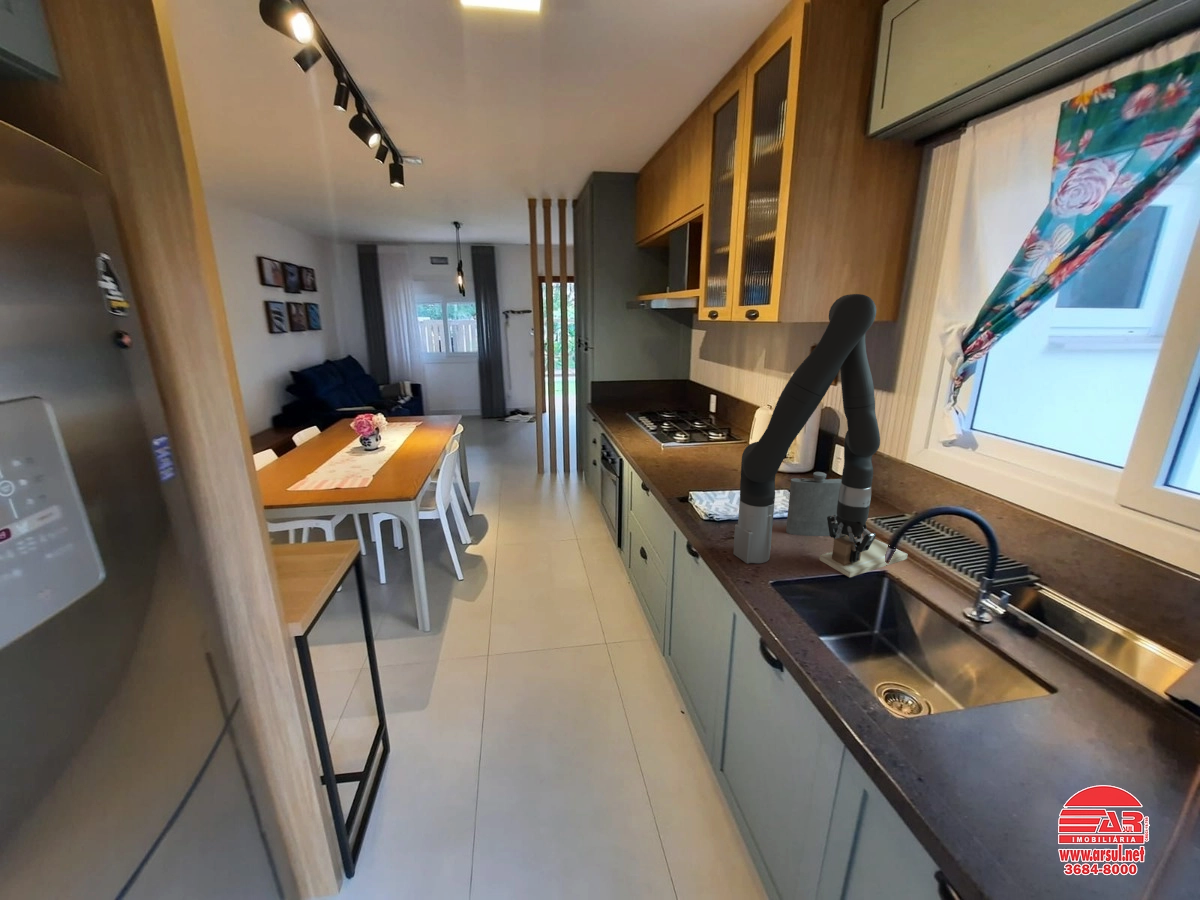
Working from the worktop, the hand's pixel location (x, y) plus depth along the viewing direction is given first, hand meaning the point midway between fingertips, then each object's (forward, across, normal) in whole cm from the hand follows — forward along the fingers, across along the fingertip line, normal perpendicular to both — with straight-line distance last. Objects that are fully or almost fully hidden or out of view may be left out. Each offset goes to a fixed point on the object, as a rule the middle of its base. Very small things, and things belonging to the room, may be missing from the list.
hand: (846, 557), depth 133 cm
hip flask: (+3, -18, +7) cm, 19 cm away
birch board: (+2, 0, +7) cm, 7 cm away
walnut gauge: (+1, 0, 0) cm, 1 cm away
